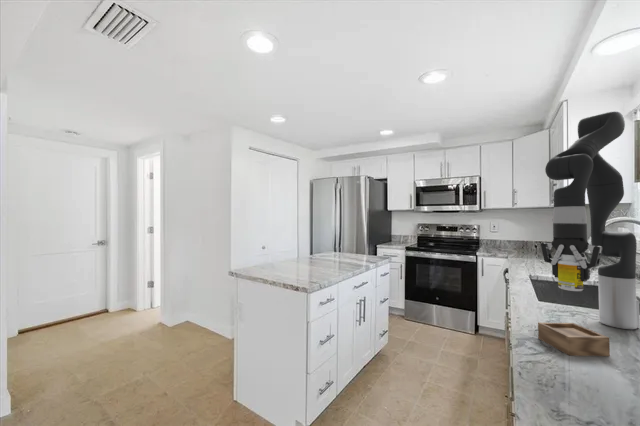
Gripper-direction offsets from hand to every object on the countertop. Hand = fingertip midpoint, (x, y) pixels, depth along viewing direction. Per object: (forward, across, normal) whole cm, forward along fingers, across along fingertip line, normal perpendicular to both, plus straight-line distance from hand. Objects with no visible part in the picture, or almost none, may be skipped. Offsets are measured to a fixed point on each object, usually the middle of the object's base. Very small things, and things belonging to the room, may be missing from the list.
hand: (570, 279), depth 82 cm
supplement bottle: (+3, 0, 0) cm, 3 cm away
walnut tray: (+20, 0, 0) cm, 20 cm away
